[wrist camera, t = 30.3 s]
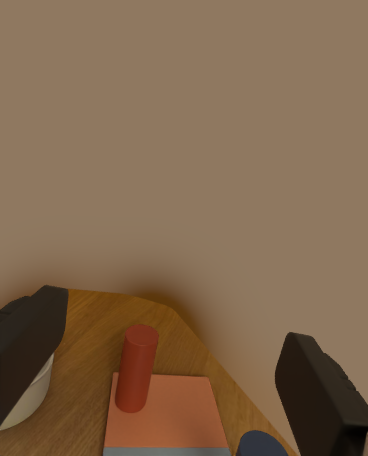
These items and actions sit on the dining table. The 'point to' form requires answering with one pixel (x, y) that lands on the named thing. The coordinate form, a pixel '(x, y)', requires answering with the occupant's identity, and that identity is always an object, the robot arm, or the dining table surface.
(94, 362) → the dining table surface
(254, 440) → the blue pin
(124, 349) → the rust pin
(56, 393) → the dining table surface
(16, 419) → the teacup
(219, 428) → the board
